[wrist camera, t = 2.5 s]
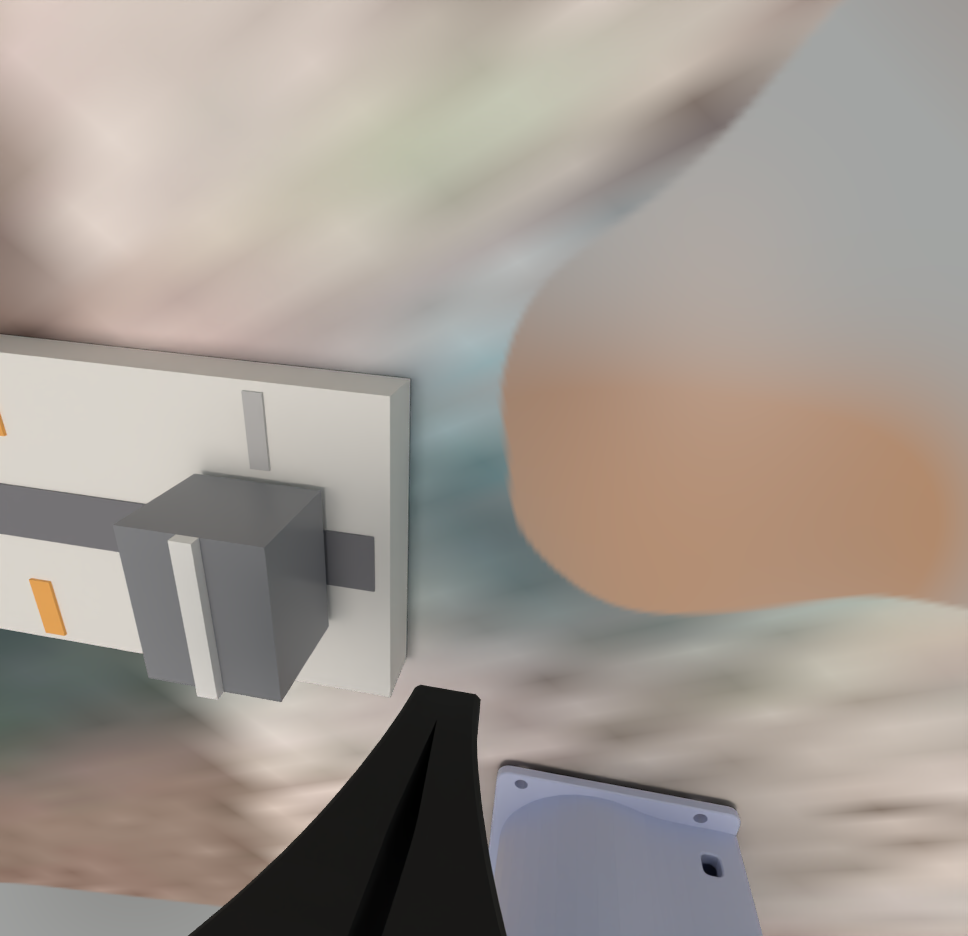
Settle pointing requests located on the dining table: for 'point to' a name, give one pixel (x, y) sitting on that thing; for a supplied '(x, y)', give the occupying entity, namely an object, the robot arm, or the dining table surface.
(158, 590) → the fader cap
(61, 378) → the console
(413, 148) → the dining table surface
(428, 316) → the dining table surface
